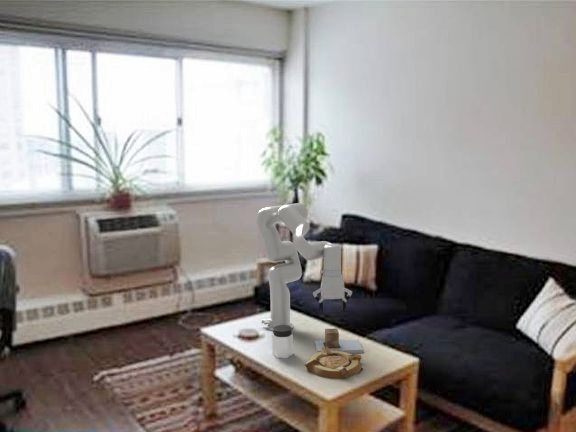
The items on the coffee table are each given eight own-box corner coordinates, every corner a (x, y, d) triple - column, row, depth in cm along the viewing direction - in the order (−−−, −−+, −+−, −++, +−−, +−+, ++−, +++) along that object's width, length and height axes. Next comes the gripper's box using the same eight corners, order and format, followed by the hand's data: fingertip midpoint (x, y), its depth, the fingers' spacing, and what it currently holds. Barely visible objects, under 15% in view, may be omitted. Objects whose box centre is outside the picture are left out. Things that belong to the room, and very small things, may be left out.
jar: (293, 350, 249) (292, 324, 247) (293, 358, 241) (292, 331, 239) (272, 350, 249) (272, 324, 247) (272, 358, 241) (271, 331, 239)
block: (326, 350, 248) (326, 333, 247) (324, 345, 254) (324, 328, 252) (338, 350, 248) (338, 333, 247) (337, 345, 254) (337, 328, 252)
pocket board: (317, 354, 245) (317, 350, 245) (314, 343, 257) (314, 340, 256) (363, 353, 246) (363, 349, 245) (358, 342, 257) (358, 339, 257)
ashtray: (293, 365, 235) (293, 354, 234) (335, 351, 249) (335, 340, 248) (331, 386, 216) (331, 373, 215) (374, 369, 230) (374, 357, 229)
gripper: (313, 275, 241) (313, 313, 244) (353, 274, 242) (353, 312, 244) (311, 271, 249) (312, 308, 251) (350, 269, 249) (350, 307, 252)
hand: (332, 310), depth 248 cm, fingers open, 9 cm apart
